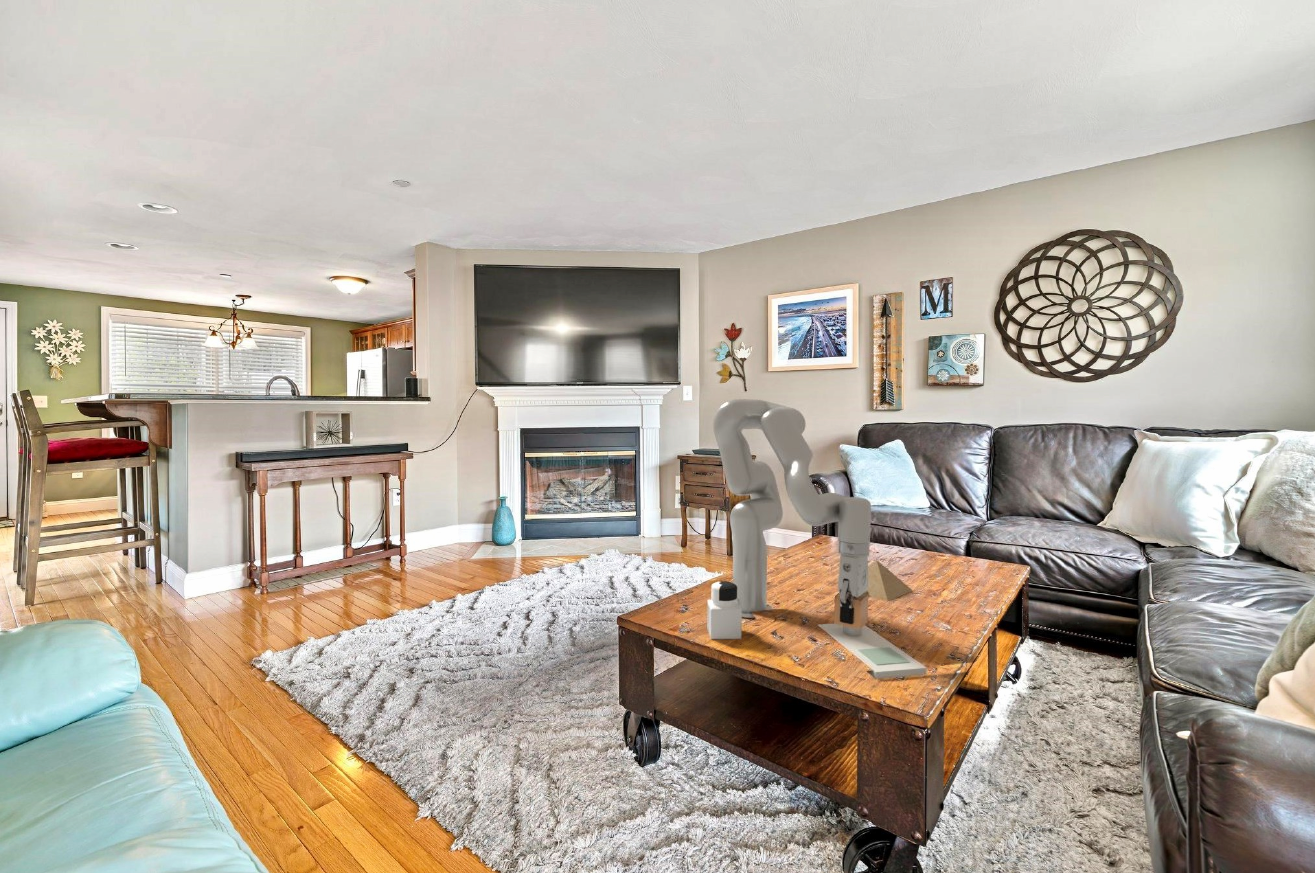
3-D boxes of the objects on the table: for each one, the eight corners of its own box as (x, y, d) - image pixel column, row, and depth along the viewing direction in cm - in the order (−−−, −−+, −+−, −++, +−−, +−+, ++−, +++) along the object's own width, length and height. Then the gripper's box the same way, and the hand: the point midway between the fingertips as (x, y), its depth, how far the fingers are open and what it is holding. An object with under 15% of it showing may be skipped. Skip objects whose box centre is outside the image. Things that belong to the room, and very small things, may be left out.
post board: (875, 678, 127) (876, 648, 126) (817, 630, 154) (817, 605, 154) (926, 674, 129) (927, 645, 128) (859, 627, 156) (860, 602, 156)
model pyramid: (837, 590, 189) (837, 559, 189) (865, 580, 201) (865, 550, 200) (886, 603, 177) (887, 570, 176) (913, 591, 188) (914, 560, 188)
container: (736, 627, 156) (736, 578, 155) (741, 639, 148) (742, 587, 147) (707, 628, 155) (707, 579, 155) (710, 639, 148) (711, 588, 147)
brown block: (860, 629, 144) (861, 601, 143) (833, 623, 148) (834, 595, 147) (867, 621, 149) (868, 594, 149) (842, 616, 153) (842, 589, 152)
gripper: (858, 557, 138) (855, 633, 139) (878, 543, 152) (875, 612, 153) (826, 552, 142) (824, 625, 143) (848, 539, 156) (846, 605, 157)
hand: (850, 617), depth 148 cm, fingers closed on brown block, 6 cm apart
